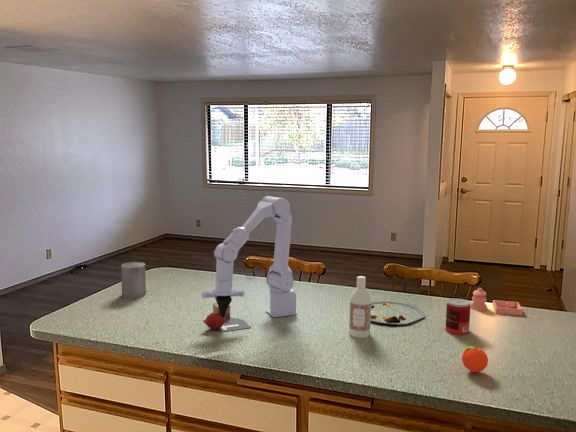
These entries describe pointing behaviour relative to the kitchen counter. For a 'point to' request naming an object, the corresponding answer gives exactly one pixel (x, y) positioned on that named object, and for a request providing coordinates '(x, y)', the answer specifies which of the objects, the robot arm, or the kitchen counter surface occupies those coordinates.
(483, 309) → the pottery
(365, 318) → the bath foam
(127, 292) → the pillar candle
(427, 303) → the kitchen counter surface
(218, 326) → the onion
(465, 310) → the canned food
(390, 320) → the food plate
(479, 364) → the clementine
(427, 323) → the kitchen counter surface
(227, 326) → the letter mat
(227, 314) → the walnut block
